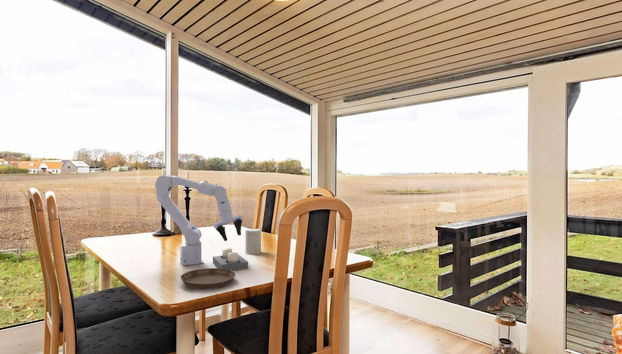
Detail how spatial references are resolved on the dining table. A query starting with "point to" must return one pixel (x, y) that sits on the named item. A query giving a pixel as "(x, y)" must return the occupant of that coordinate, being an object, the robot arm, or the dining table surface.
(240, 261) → the slate mount
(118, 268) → the dining table surface
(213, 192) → the robot arm
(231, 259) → the near knob
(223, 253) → the far knob
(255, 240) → the cup
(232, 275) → the plant saucer
